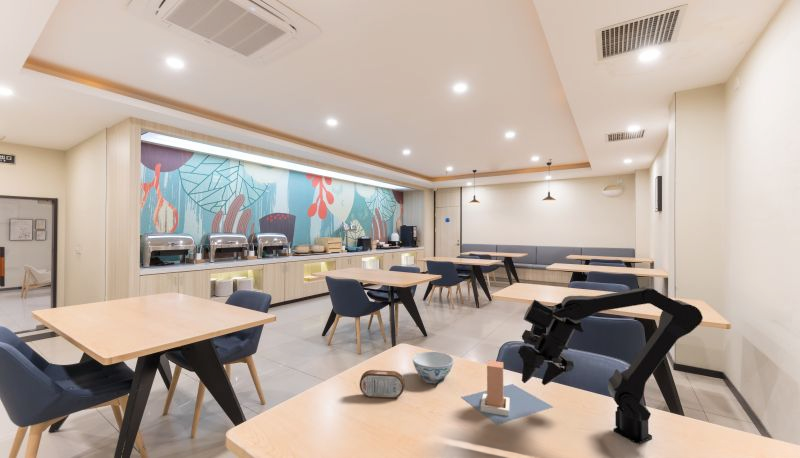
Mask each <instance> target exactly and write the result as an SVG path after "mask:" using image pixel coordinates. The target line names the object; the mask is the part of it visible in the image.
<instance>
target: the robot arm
mask: <svg viewBox="0 0 800 458" xmlns="http://www.w3.org/2000/svg"><path fill="white" fill-rule="evenodd" d="M646 304H649V305H652V306H654V307H656V308H657V309H659V310H661V314H660V315H659V321H658V327H657V328H656V330H655V331H654V333H653V334H652V335H651V337H650V338H649V340H647V342H646V343H645V345H644V346H643V347H642V349H641V350H640V352H639V353H638V355H637V356H636V357H635V359H634V360H633V362H632V363H630V365H629V367H628V368H626V370H623V371H619V369H615V370H614V372H613V374H612V376H610V378H608V379H607V380H608V382H609V383H608V385H607V388H608V392H609V393H610V396H611V397H612V398H613V400H614V402H615V403H616V405H617V407H616V410H615V412H614V413H615V414H614V415H615V416H614V417H615V418H614V419H615V421H614V422H615V423H614V424H615V427H614V428H613V432H614V433H616V434H618V435H621V436H622V437H624V438H626V439H628V440H629V441H631V442H634V443H636V444H637V445H639V444H642V443H644V442H646V441H649V440H651V439H653V435H652V434H650V433H649V419H650V417H651V415H652V413H651V412H650V411H649V409H648V408H647V407H646V405H645V404H644V403H643V401H642V399H643V397H644V394H645V390H646V383H647V382H648V381H649V379H650V377H652V375H653V373H654V372H655V371H656V370H657V368H658V366H659V365H660V364H661V363H662V361H663V360H664V359H665V357H666V356H667V354H668V353H669V352H670V351H671V349H672V348H673V347H674V345H675V344H676V342H677V341H678V340H679V339H680V338H682V337H684V336H686V335H688V334H690V333H692V331H694V330H696V328H697V327H698V326H699V325H701V323H702V321H703V320H704V319H703V318H704V317H703V315H702V312H701V310H700V309H699V308H698V307H696V306H695V305H692V304H690V303H687V302H685V301H682V300H679V299H672V298H670V297H669V296H667V295H665V294H663V293H660V292H659V291H658V290H656V289H655V288H653V287H650V286H641V287H638V288H634V289H628V290H622V291H616V292H611V293H605V294H600V295H599V294H598V295H567V296H566V297H563V299H562V300H561V302H559V303H557V304H554V305H551V306H550V307H549V306H548V305H545V304H544V303H541V302H540V301H539V300H536V299H533V301H532V302H531V304H530V305H529V307H528V308H527V309H526V312H525V313H524V316H523V320H524V321H525V322H527V323H529V324H531V325H534V326H535V327H537V328H538V329H541V330H543V329H548V330H547V333H541V335H536V334H534V332H533V331H531V330H528V329H525V330H524V331H523V333H522V335H521V339H522V341H523V344H525V345H520V346H519V348H518V350H517V354H519V357H520V359H522V363H523V364H522V375H521V381H522V383H523V384H526V383H527V382H528V381H529V380H531V379H532V378H533V377H534V376H535V374H537V373H538V372H539V371H540V370H541V366H542V365H543V364H544V362H546V363H547V367H546V369H545V372H544V375H543V378H542V381H541V384H542V385H543V386H546V385H548V384H550V383H552V381H554V380H556V379H558V378H560V377H562V376H563V375H565V374H568V372H572V371H573V369H574V367H575V366H574V361H572V359H570V358H568V356H566V355H564V354H563V353H564V351H568V350H569V349H570V347H569V345H568V343H569V341H570V339H571V338H572V336H573V334H574V332H575V330H576V331H577V332H580V333H584V329H583V328H582V322H581V320H583V319H586V318H589V317H591V316H593V315H595V314H596V313H597V314H598V313H600V312H605V311H610V310H616V309H617V310H618V309H621V308H629V307H634V306H640V305H646ZM529 345H531V346H529ZM532 346H533V347H532Z"/></svg>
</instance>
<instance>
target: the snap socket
mask: <svg viewBox="0 0 800 458" xmlns="http://www.w3.org/2000/svg"><path fill="white" fill-rule="evenodd" d="M486 401H487V394H483V398H482V402H481V411H482V412H488V413H494V414H499V415H505V416H509V407H510V398H508V397H504V404H506V408H501V407H495V406H489V405H486Z"/></svg>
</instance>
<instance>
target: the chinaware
mask: <svg viewBox="0 0 800 458" xmlns="http://www.w3.org/2000/svg"><path fill="white" fill-rule="evenodd" d="M412 362H413V363H412V364H413V366H414V369H415V371H416V372H417V373H418V375H419V376H420V377H422V378H423V380H424V382H425V383H429V384H438V383H440V382H441V381H442V380H443V379H444V378H446V377H447V376H448V375H449V373H450V372H451V370H452V367H453V365H454V358H453V357H452V356H451V355H449V354H447V353H446V352H440V351H422V352H419V353H416V354H415V355H414V356H412Z"/></svg>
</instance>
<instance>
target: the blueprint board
mask: <svg viewBox="0 0 800 458" xmlns="http://www.w3.org/2000/svg"><path fill="white" fill-rule="evenodd" d="M483 394H487V390H483V391H479V392H475V393H472V394H468V395H464V396H460V398H461V399H463V401H465V402H466V403H467V404H469V405H470V406H471V407H473V408H474V409H476V410H477V411H478V412H480V414H482V415H484V417H486V418H488V419H489V421H491V422H493V423H494V424H495V425H497V426H498V425H501V424H504V423H508V422H510V421H514V420H517V419H520V418H522V417H527V416H528V415H529V416H530V415H532V414H536V413H538V412H543V411H545V410H549V409H552V408H554V406H553V405H552V404H549V403H547V402H546V401H544V400H542V399H541V398H538V397H536V396H535V395H533V394H531V393H530V392H528V391H526V390H525V389H523V388H520V387H519V386H517V385H515V384H514V383H511V384H508V385H504V397H508V398H510V407H509V416H505V415H499V414H494V413H488V412H482V411H481V402H482V398H483ZM486 405H487V401H486ZM503 408H506V404H504V406H503Z"/></svg>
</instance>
